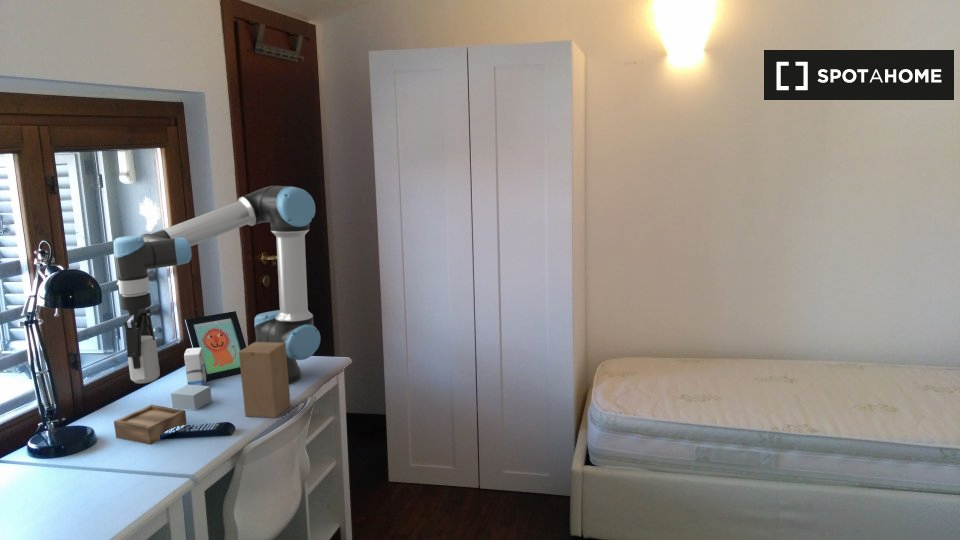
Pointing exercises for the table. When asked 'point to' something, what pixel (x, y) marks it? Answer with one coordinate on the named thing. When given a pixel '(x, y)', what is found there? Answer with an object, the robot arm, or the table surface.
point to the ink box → (195, 366)
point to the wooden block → (264, 379)
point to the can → (147, 360)
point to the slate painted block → (191, 397)
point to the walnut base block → (149, 423)
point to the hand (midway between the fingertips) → (145, 373)
